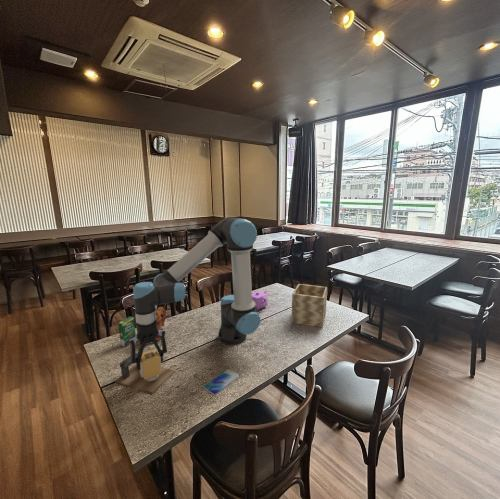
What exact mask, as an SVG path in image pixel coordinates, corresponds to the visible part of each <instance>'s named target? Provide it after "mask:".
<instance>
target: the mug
mask: <svg viewBox="0 0 500 499" xmlns="http://www.w3.org/2000/svg"><path fill="white" fill-rule="evenodd" d="M156 321H157V330H161V329H163V327H164V326H165V322H166V310H165V308H164V306H159V307H158V308H157V309H156ZM155 339H156V341H161V338H160V335H159V334H158V335H157V337H156V338H155Z"/></svg>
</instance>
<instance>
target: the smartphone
mask: <svg viewBox="0 0 500 499" xmlns="http://www.w3.org/2000/svg"><path fill="white" fill-rule="evenodd" d="M239 378H241V374H239V373H238V372H236V371H234V370H233V369H231V368H227V369H226V370H225V371H223V372H222V373H220V374H219V375H217V376H216V377H214V378H213V379H211V380H210V381H209V382H207V383H206V384H205V385H203V389H204V390H205V391H207V392H208V393H210V394H211V395H212V396H218V394H220V393H221V392H222V391H224V390H225V389H226V388H228V387H229V386H230V385H232V384H233V383H234V382H236V381H237V380H238V379H239Z"/></svg>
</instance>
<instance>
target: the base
mask: <svg viewBox="0 0 500 499" xmlns="http://www.w3.org/2000/svg"><path fill="white" fill-rule="evenodd" d="M137 353H138V352H137ZM137 353H136V352H135V358H136V356H137ZM150 357H152V354H151V353H148V354H147V358H150ZM131 365H133V363H132V361H131V355H130V356H128V357H127V358H125V359H124V360H122V361H121V362H120V363H119V368H120V371H121V372H120V373H121V375H120V376H119V377H118V378H116V379H115V380H114V382H115V383H117V384H120V385H123V386H126V387H129V388H133V389H135V390H139V391H141V392H145V393H148V394H151V395H153V394H155V392H156V391H157V390H159V389H160V387H161V386H163V385H164V384H165V382H166V381H168V380H169V378H171V377H172V375H174V373H176V371H175V369H171V368H168V367H164V366H161V369H162V370H161V374H159V375H157V376H154V377H151V378H148V379H146V380H145V379H144V377H141V375H140V370H138V369H137V365H136V363H134V365H133V366H131ZM130 366H131V368H130Z"/></svg>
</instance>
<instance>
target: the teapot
mask: <svg viewBox="0 0 500 499" xmlns="http://www.w3.org/2000/svg"><path fill="white" fill-rule="evenodd" d="M268 291H269V290H268V289H266V290H264V292H263V291H259V290H257V291H253V292H252V300H253V301H254V302H255V304H256V311H260V309H265V307H266V306H268V301H269V300H268V299H269V298H268V296H269V294H268V293H267V292H268Z"/></svg>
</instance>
